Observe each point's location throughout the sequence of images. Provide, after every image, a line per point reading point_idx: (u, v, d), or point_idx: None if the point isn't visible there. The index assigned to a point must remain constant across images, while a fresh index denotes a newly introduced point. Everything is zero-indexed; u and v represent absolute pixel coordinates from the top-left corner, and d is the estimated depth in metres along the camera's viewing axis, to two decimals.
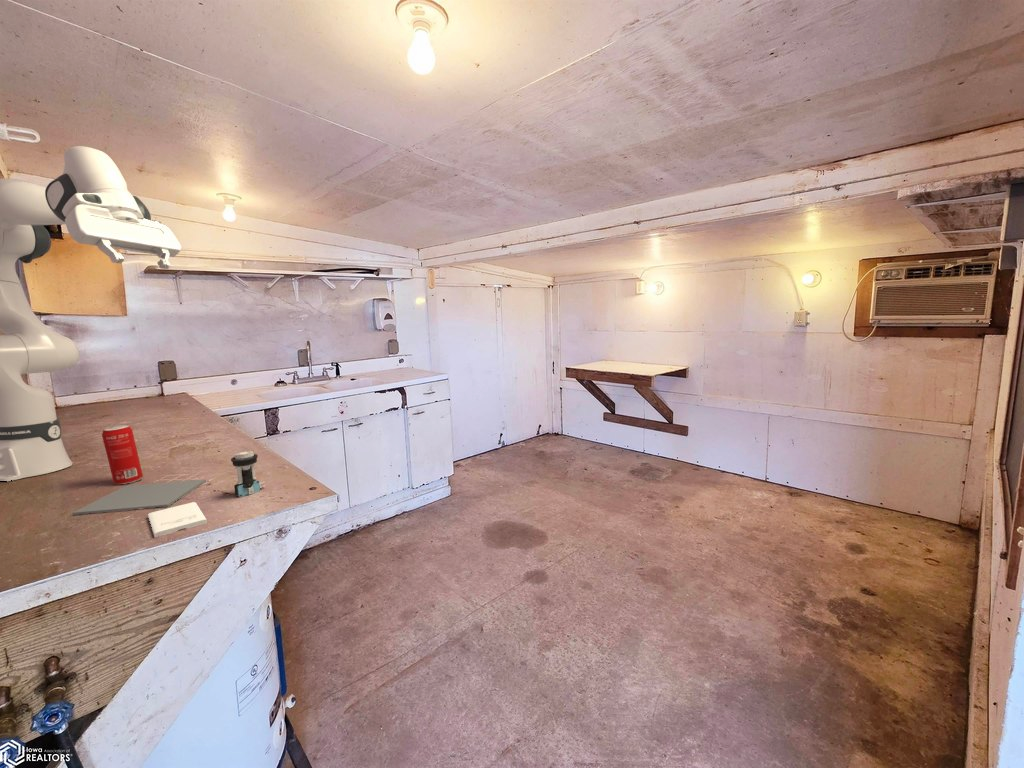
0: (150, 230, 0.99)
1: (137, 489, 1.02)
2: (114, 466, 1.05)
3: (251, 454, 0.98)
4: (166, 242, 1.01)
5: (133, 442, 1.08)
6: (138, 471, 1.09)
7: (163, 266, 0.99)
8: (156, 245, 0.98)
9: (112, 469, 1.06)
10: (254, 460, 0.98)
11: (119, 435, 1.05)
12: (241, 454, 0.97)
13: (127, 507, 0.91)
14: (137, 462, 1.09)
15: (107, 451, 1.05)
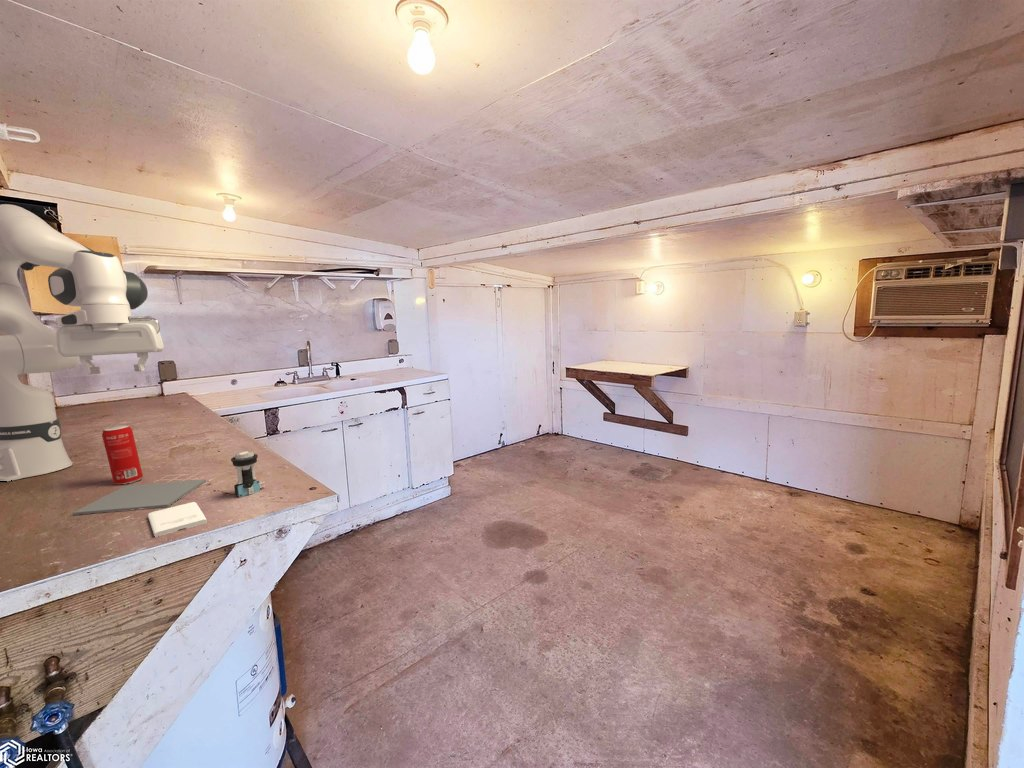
0: (128, 335, 1.03)
1: (137, 489, 1.02)
2: (114, 466, 1.05)
3: (251, 454, 0.98)
4: (139, 347, 1.04)
5: (133, 442, 1.08)
6: (138, 471, 1.09)
7: None
8: (129, 352, 1.03)
9: (112, 469, 1.06)
10: (254, 460, 0.98)
11: (119, 435, 1.05)
12: (241, 454, 0.97)
13: (127, 507, 0.91)
14: (137, 462, 1.09)
15: (107, 451, 1.05)
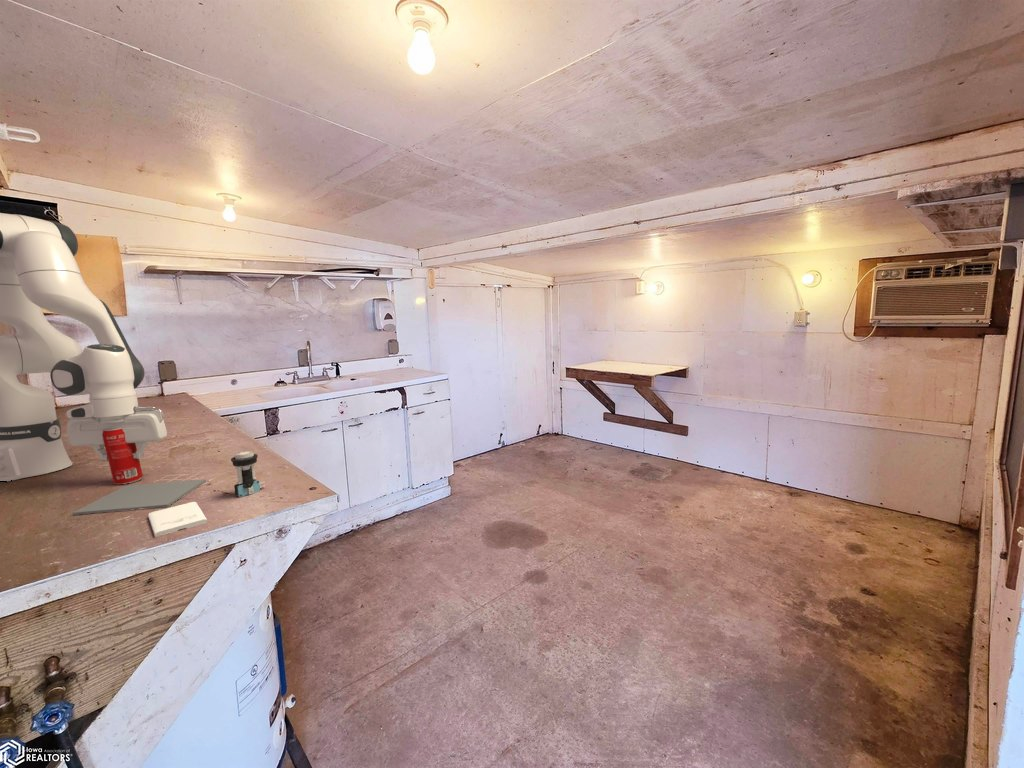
0: (133, 425, 1.06)
1: (137, 489, 1.02)
2: (114, 466, 1.05)
3: (251, 454, 0.98)
4: (142, 437, 1.07)
5: None
6: (138, 471, 1.09)
7: None
8: (132, 442, 1.06)
9: (112, 469, 1.06)
10: (254, 460, 0.98)
11: (119, 435, 1.05)
12: (241, 454, 0.97)
13: (127, 507, 0.91)
14: (137, 462, 1.09)
15: (107, 451, 1.05)
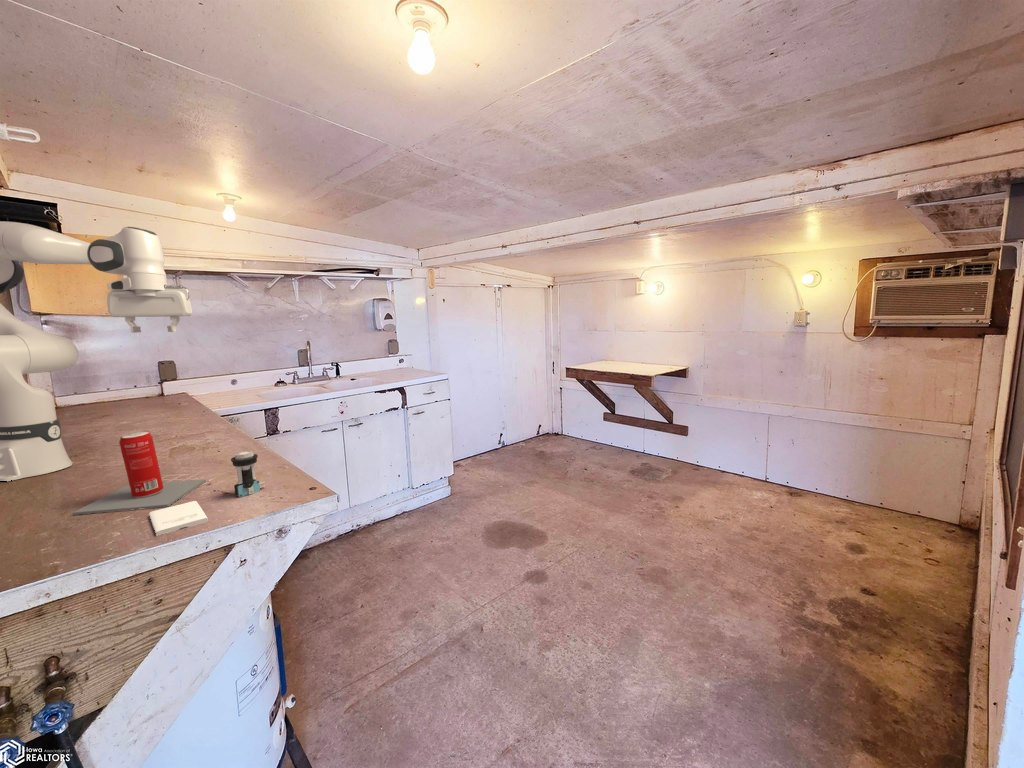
0: (163, 300, 1.22)
1: None
2: (133, 478, 0.95)
3: (251, 454, 0.98)
4: (172, 311, 1.22)
5: (153, 451, 0.97)
6: (158, 483, 0.98)
7: None
8: (163, 315, 1.22)
9: (131, 481, 0.95)
10: (254, 460, 0.98)
11: (139, 443, 0.94)
12: (241, 454, 0.97)
13: (127, 507, 0.91)
14: (158, 472, 0.98)
15: (125, 461, 0.94)
